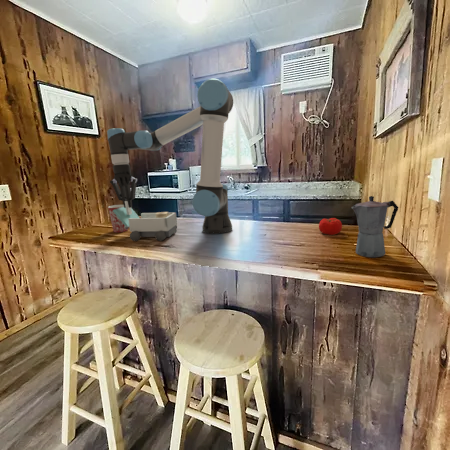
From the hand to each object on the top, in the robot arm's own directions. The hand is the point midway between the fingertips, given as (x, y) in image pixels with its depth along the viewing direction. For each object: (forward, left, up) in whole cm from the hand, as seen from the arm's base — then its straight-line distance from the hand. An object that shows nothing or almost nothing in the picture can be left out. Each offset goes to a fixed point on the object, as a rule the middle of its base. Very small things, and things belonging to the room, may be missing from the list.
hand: (129, 214), depth 123 cm
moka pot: (-100, +25, -11) cm, 104 cm away
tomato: (-94, -3, -11) cm, 95 cm away
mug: (+11, -12, -11) cm, 20 cm away
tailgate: (-2, 0, -5) cm, 5 cm away
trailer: (-12, 0, -11) cm, 16 cm away
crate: (-16, -1, -5) cm, 17 cm away
